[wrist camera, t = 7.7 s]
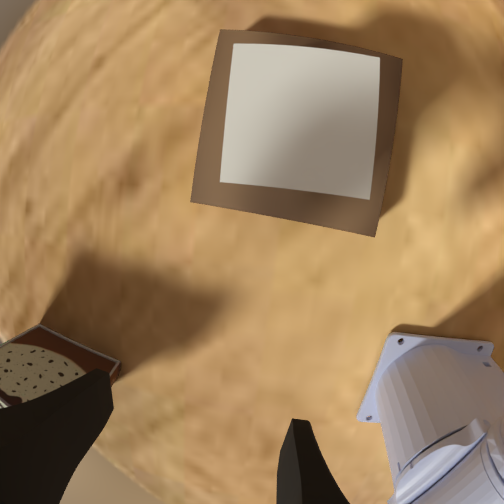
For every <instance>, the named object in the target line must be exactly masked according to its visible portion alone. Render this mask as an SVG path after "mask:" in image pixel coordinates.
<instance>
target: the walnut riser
mask: <svg viewBox="0 0 504 504" xmlns="http://www.w3.org/2000/svg"><path fill="white" fill-rule="evenodd" d="M234 44H274V45H290V46H302V47H313V48H322V49H330V50H337V51H344V52H351V53H357V54H363V55H368V56H373V57H379V58H380V78H379V103H378V120H377V133H376V145H375V156H374V166H373V175H372V184H371V192H370V200H367V199H361V198H354V197H347V196H340V195H333V194H325V193H318V192H310V191H302V190H294V189H285V188H276V187H267V186H257V185H247V184H236V183H225V182H220V173H221V161H222V150H223V139H224V128H225V118H226V108H227V98H228V89H229V80H230V71H231V62H232V53H233V45H234ZM402 60H403V59H401V58H397V57H394V56H390V55H387V54H383V53H379V52H376V51H372V50H368V49H364V48H360V47H355V46H351V45H346V44H341V43H336V42H331V41H326V40H320V39H314V38H308V37H302V36H295V35H287V34H278V33H269V32H258V31H244V30H223V29H220V33H219V37H218V42H217V47H216V51H215V56H214V61H213V66H212V71H211V76H210V81H209V87H208V92H207V97H206V103H205V108H204V114H203V120H202V126H201V132H200V138H199V145H198V151H197V158H196V164H195V171H194V178H193V186H192V193H191V201H190V202H193V203H199V204H205V205H210V206H216V207H222V208H228V209H233V210H239V211H245V212H250V213H256V214H261V215H267V216H272V217H277V218H282V219H288V220H293V221H298V222H303V223H308V224H313V225H318V226H323V227H328V228H333V229H338V230H342V231H347V232H352V233H357V234H361V235H366V236H371V237H375V234H376V230H377V226H378V221H379V217H380V212H381V207H382V202H383V198H384V192H385V187H386V182H387V177H388V171H389V165H390V159H391V153H392V147H393V141H394V134H395V127H396V119H397V111H398V103H399V94H400V84H401V73H402Z"/></svg>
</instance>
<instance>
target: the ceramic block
mask: <svg viewBox="0 0 504 504" xmlns="http://www.w3.org/2000/svg"><path fill="white" fill-rule="evenodd" d="M379 78H380V58H379V57H373V56H368V55H363V54H357V53H351V52H344V51H337V50H330V49H322V48H313V47H302V46H290V45H274V44H234V45H233V53H232V62H231V71H230V80H229V89H228V98H227V108H226V118H225V128H224V139H223V150H222V161H221V173H220V182H225V183H236V184H247V185H257V186H267V187H276V188H285V189H294V190H302V191H310V192H318V193H325V194H333V195H340V196H347V197H354V198H361V199H367V200H370V192H371V184H372V175H373V166H374V156H375V145H376V133H377V120H378V103H379Z"/></svg>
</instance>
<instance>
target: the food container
mask: <svg viewBox="0 0 504 504" xmlns="http://www.w3.org/2000/svg"><path fill="white" fill-rule="evenodd" d="M120 367H121V361H119V360H117V359H114V358H112V357H109V356H107V355H105V354H102V353H100V352H98V351H95V350H93V349H91V348H89V347H86V346H84V345H82V344H80V343H78V342H75V341H73V340H71V339H69V338H67V337H65V336H63V335H61V334H59V333H57V332H55V331H53V330H51V329H49V328H47V327H45V326H43V325H41V324H38V325H36V326H34V327H32V328H30V329H28V330H27V331H25V332H23V333H21V334H19V335H18V336H16V337H14V338H12V339H10V340H8V341H7V342H5V343H3V344H1V345H0V408H5V407H9V406H13V405H17V404H20V403H23V402H26V401H29V400H32V399H35V398H37V397H39V396H42V395H44V394H46V393H49V392H51V391H53V390H55V389H57V388H59V387H61V386H63V385H65V384H67V383H69V382H71V381H73V380H75V379H77V378H79V377H81V376H83V375H84V374H86V373H88V372H90V371H92V370H94V369H96V368H98V369H100V370H103V371H106V372H109V373H110V383H111V387H112V385H113V383H114V382H115V380H116V379H117V377H118V375H119V372H120Z"/></svg>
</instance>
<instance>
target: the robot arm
mask: <svg viewBox="0 0 504 504" xmlns="http://www.w3.org/2000/svg"><path fill="white" fill-rule="evenodd" d="M400 338H403V340H402V341H401V342H398V340H399V339H400ZM479 346H480V348H479V349H478V347H479ZM493 349H494V345H493V343H492V342H490V341H478V340H466V339H455V338H445V337H435V336H426V335H417V334H409V333H400V332H392V333H390V334H389V335H388V336H387V338H386V341H385V344H384V347H383V350H382V352H381V355H380V358H379V361H378V363H377V366H376V369H375V371H374V374H373V376H372V379H371V382H370V384H369V387H368V389H367V391H366V394H365V396H364V399H363V401H362V403H361V406H360V408H359V410H358V413H357V420H358V421H360V422H374V423H381V427H382V432H383V436H384V441H385V445H386V450H387V455H388V459H389V464H390V469H391V474H392V480H393V485H394V494H393V496H392V497H391V498H390V499H389V500H388V501H387V503H388V504H504V372H503V371H502V370H501V369H500V367H499V366H498V365H497V364H496V362H495V361H494V360H493V359H492V358H491V354H492V351H493ZM113 409H114V406H113V399H112V391H111V383H110V373H109V372H106V371H103V370H100V369H98V368H96V369H94V370H92V371H90V372H88V373H86V374H84V375H83V376H81V377H79V378H77V379H75V380H73V381H71V382H69V383H67V384H65V385H63V386H61V387H59V388H57V389H55V390H53V391H51V392H49V393H46V394H44V395H42V396H39V397H37V398H35V399H32V400H29V401H26V402H23V403H20V404H17V405H13V406H9V407H5V408H0V504H59V503H60V500H61V498H62V496H63V494H64V491H65V489H66V487H67V485H68V483H69V481H70V479H71V477H72V475H73V473H74V471H75V469H76V468H77V466H78V464H79V463H80V461H81V460H82V459H83V457H84V456H85V454H86V453H87V451H88V450H89V448H90V447H91V446H92V444H93V443H94V442H95V440H96V439H97V437H98V436H99V434H100V433H101V431H102V430H103V428H104V427H105V425H106V423H107V421H108V419H109V417H110V415H111V413H112V411H113ZM367 416H370V417H367ZM277 504H350V503H349V502H348V500H347V499H346V498H345V496H344V495H343V493H342V492H341V490H340V488H339V487H338V485H337V483H336V482H335V480H334V478H333V476H332V474H331V472H330V471H329V469H328V467H327V464H326V462H325V460H324V458H323V456H322V454H321V451H320V449H319V446H318V444H317V441H316V439H315V436H314V433H313V430H312V427H311V424H310V422H309V421H307V420H300V419H292V421H291V423H290V426H289V429H288V432H287V434H286V437H285V440H284V442H283V445H282V448H281V450H280V456H279V463H278V471H277Z"/></svg>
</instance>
